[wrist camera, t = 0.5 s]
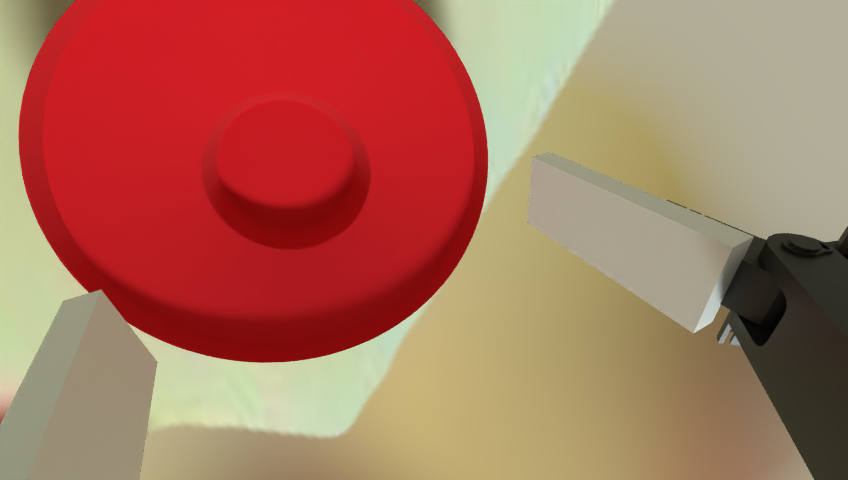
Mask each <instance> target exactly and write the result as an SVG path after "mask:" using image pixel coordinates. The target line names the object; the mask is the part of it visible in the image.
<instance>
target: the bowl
mask: <svg viewBox="0 0 848 480" xmlns="http://www.w3.org/2000/svg"><path fill="white" fill-rule="evenodd" d="M19 155H20V162H21V169H22V176H23V180H24V184H25V188H26V192H27V195H28V198H29V201H30V204H31V207H32V210H33V212H34V214H35V217H36V219H37V222H38V224H39V226H40V228H41V229H42V231H43V233H44V235H45V237H46V239H47V241H48V242H49V244H50V245H51V247H52V248H53V250H54V252H55V253H56V255H57V256H58V258H59V259H60V261H61V262H62V263H63V265H64V266H65V267H66V268H67V270H68V271H69V272H70V273H71V274H72V276H73V277H74V278H75V279H76V280H77V281H78V282H79V283H80V284H81V285H82V286H83V287H84V288H85V289H86V290H87V291H88V292H89V293H91V292H95V291H98V290H102V291H103V293H104V294H105V295H106V296H107V298H108V299H109V300H110V302H111V303H112V304H113V305H114V307H115V308H116V309H117V311H118V312H119V313H120V314H121V316H122V317H123V318H124V320H125V321H126V322H127V323H129V324H131V325H132V326H134V327H136V328H138V329H139V330H141V331H143V332H145V333H147V334H149V335H151V336H153V337H155V338H157V339H159V340H161V341H164V342H166V343H169V344H171V345H174V346H176V347H179V348H182V349H185V350H188V351H192V352H196V353H199V354H203V355H206V356H211V357H216V358H221V359H227V360H234V361H243V362H259V363H265V362H290V361H299V360H305V359H311V358H317V357H322V356H326V355H330V354H333V353H337V352H340V351H343V350H346V349H349V348H352V347H354V346H357V345H359V344H362V343H364V342H367V341H369V340H371V339H373V338H375V337H377V336H379V335H381V334H383V333H384V332H386V331H388V330H390V329H391V328H393V327H395V326H396V325H398V324H399V323H401V322H402V321H403V320H405V319H406V318H408V317H409V316H410V315H412V314H413V313H414V312H415V311H417V310H418V309H419V308H420V307H421V306H422V305H423V304H424V303H426V302H427V301H428V300H429V299H430V298H431V297H432V296H433V295H434V294H435V293H436V292H437V290H438V289H439V288H440V287H441V286H442V285H443V284H444V283H445V281H446V280H447V279H448V277H449V276H450V275H451V273H452V272H453V271H454V269H455V268H456V266H457V265H458V263H459V261H460V260H461V258H462V256H463V255H464V253H465V251H466V249H467V247H468V245H469V243H470V241H471V239H472V237H473V234H474V231H475V229H476V226H477V224H478V221H479V218H480V214H481V210H482V207H483V203H484V197H485V192H486V185H487V175H488V148H487V137H486V130H485V124H484V119H483V115H482V111H481V107H480V103H479V100H478V97H477V94H476V92H475V89H474V86H473V84H472V81H471V79H470V77H469V75H468V73H467V71H466V69H465V67H464V65H463V63H462V61H461V60H460V58H459V56H458V54H457V52H456V51H455V49H454V48H453V46H452V45H451V43H450V42H449V40H448V39H447V38H446V36H445V35H444V34H443V32H442V31H441V30H440V29H439V27H438V26H437V25H436V24H435V23H434V22H433V20H432V19H431V18H430V17H429V16H428V15H427V14H426V13H425V12H424V11H423V10H422V9H421V8H420V7H419V6H418V5H417V4H416V3H415V2H414V1H413V0H76V1H75V2H74V3H73V4H72V5H71V6H70V7H69V8H68V9H67V10H66V12H65V13H64V14H63V15H62V16H61V18H60V19H59V20H58V21H57V23H56V24H55V26H54V27H53V29H52V30H51V31H50V33H49V34H48V36H47V37H46V39H45V41H44V43H43V45H42V47H41V49H40V51H39V52H38V54H37V56H36V58H35V61H34V63H33V66H32V68H31V71H30V73H29V77H28V80H27V84H26V87H25V91H24V94H23V99H22V105H21V111H20V118H19Z"/></svg>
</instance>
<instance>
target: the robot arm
mask: <svg viewBox="0 0 848 480" xmlns="http://www.w3.org/2000/svg"><path fill="white" fill-rule="evenodd" d="M527 223H529V224H530V225H532V226H533V227H535V228H536V229H538V230H539V231H541V232H542V233H544V234H545V235H547V236H548V237H550V238H551V239H553V240H554V241H556V242H557V243H559V244H560V245H562V246H563V247H565V248H566V249H568V250H569V251H571V252H572V253H574V254H575V255H577V256H578V257H580V258H581V259H583V260H584V261H586V262H587V263H589V264H590V265H592V266H593V267H595V268H596V269H598V270H599V271H601V272H602V273H604V274H605V275H607V276H608V277H610V278H611V279H613V280H614V281H616V282H617V283H619V284H620V285H622V286H623V287H625V288H626V289H628V290H629V291H631V292H632V293H634V294H635V295H637V296H638V297H640V298H641V299H643V300H644V301H646V302H647V303H649V304H650V305H652V306H653V307H655V308H656V309H658V310H659V311H661V312H662V313H664V314H665V315H667V316H668V317H670V318H671V319H673V320H675V321H676V322H677V323H679V324H680V325H682V326H683V327H685V328H686V329H688V330H689V331H691V332H692V333H694V332H696V331H698V330H699V329H701V328H703V327H704V326H706V325H708V324H709V323H711V322H712V321H713V319H714V317H715V315H716V313H717V311H718V309H719V307H720V305H723V306H725V307H727V308H729V309H730V312H729V314H728V316H727V318H726V320H725V322H724V324H723V325H722V327H721V329H720V331H719V333H718V335H717V340H718V343H723V342H724V340H725V339H726V337H727V335H728V333H729V332H734V334H733V336H732V338H731V340H730V344H732V345H741V347H742V349H743V351H744V352H745V354H746V356H747V358H748V360H749V362H750V363H751V365H752V367H753V369H754V371H755V372H756V374H757V376H758V378H759V380H760V382H761V383H762V385H763V387H764V389H765V391H766V393H767V394H768V396H769V398H770V400H771V402H772V403H773V405H774V407H775V409H776V411H777V412H778V414H779V416H780V418H781V420H782V422H783V423H784V425H785V427H786V429H787V431H788V432H789V434H790V436H791V438H792V440H793V441H794V443H795V445H796V447H797V449H798V451H799V453H800V454H801V456H802V458H803V459H804V461H805V463H806V465H807V467H808V469H809V471H810V473H811V474H812V476H813V478H814V480H848V227H847V228H846V229H845V231H844V233H843V234H842V236H841V237H840V239H839V240H838V241H832V242H821V241H819V240H817V239H814V238H810V237H806V236H803V235H796V234H789V233H782V234H774V235H772V236H769V237H768V239H767V240H764V239H762V238H759V237H756V236H754V235H751V234H749V233H747V232H744V231H742V230H739V229H737V228H735V227H732V226H730V225H727V224H725V223H722V222H720V221H718V220H715V219H713V218H710V217H708V216H703V215H702V214H700V213H698V212H696V211H693V210H688V209H687V208H686V207H684V206H681V205H679V204H676V203H674V202H671V201H669V200H664V199H662V198H660V197H657V196H655V195H652V194H650V193H647V192H645V191H642V190H640V189H638V188H635V187H633V186H630V185H628V184H625V183H623V182H621V181H618V180H616V179H613V178H611V177H609V176H606V175H604V174H601V173H599V172H597V171H594V170H592V169H589V168H587V167H584V166H582V165H580V164H577V163H575V162H572V161H570V160H567V159H565V158H563V157H560V156H558V155H556V154H553V153H551V152H547V153H544V154H541V155H537V156H534V157H532V167H531V181H530V194H529V207H528V221H527ZM156 367H157V361H156V360H155V358H154V357H153V356H152V354H151V353H150V352H149V351H148V349H147V348H146V347H145V345H144V344H143V343H142V342H141V340H140V339H139V338H138V336H137V335H136V334H135V333H134V331H133V330H132V329H131V327H130V326H129V325H128V323H127V322H126V321H125V320H124V318H123V317H122V316H121V314H120V313H119V312H118V311H117V309H116V308H115V307H114V305H113V304H112V303H111V302H110V300H109V299H108V298H107V296H106V295H105V294H104V293H103V291H102V290H98V291H95V292H91V293H88V294H85V295H82V296H78V297H75V298H72V299H68V300H65V301H63V303H62V305H61V307H60V308H59V310H58V312H57V314H56V316H55V318H54V320H53V322H52V324H51V326H50V328H49V330H48V332H47V334H46V336H45V338H44V340H43V342H42V344H41V346H40V348H39V350H38V352H37V354H36V356H35V358H34V360H33V362H32V364H31V365H30V367H29V369H28V371H27V373H26V375H25V377H24V379H23V381H22V383H21V385H20V387H19V389H18V391H17V393H16V395H15V397H14V399H13V401H12V403H11V405H10V407H9V409H8V411H7V413H6V415H5V417H4V419H3V421H2V422H1V424H0V480H139V479H140V472H141V465H142V459H143V452H144V446H145V439H146V432H147V426H148V419H149V413H150V406H151V400H152V393H153V386H154V380H155V373H156Z"/></svg>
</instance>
